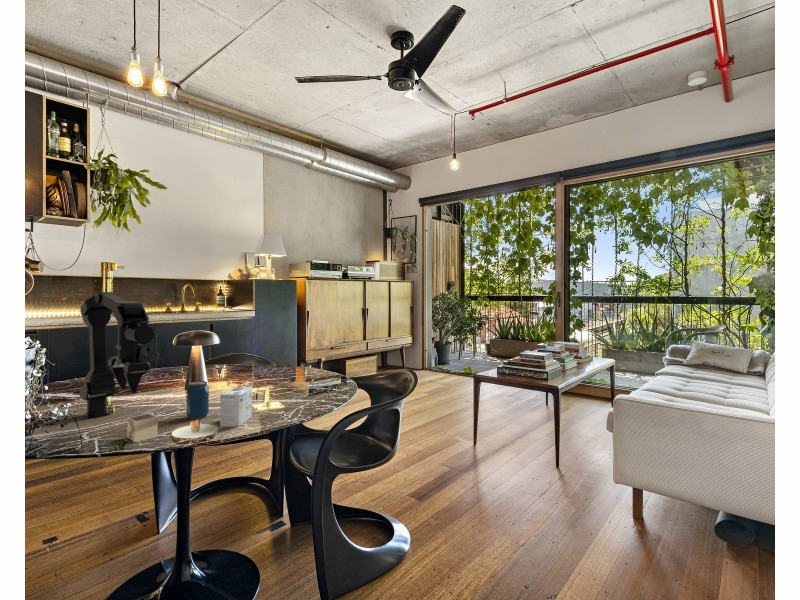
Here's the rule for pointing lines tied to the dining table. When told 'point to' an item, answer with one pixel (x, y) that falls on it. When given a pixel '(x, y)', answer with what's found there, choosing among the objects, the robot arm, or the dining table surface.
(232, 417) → the light bulb box
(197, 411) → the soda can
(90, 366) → the robot arm
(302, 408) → the dining table surface
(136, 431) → the maple block
